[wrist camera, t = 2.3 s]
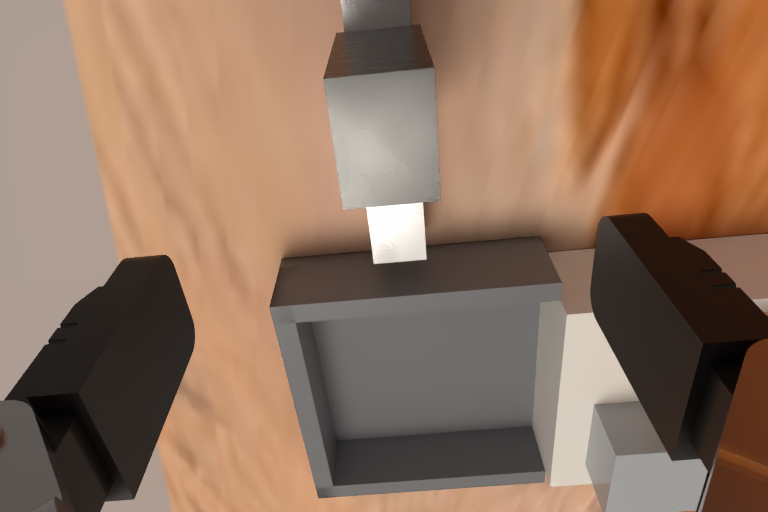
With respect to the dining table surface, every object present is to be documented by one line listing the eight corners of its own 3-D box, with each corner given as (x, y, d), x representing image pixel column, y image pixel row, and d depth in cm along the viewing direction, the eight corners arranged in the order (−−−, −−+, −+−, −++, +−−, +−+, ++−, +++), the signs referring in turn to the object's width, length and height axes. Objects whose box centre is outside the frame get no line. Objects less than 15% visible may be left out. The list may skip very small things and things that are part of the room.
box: (281, 258, 29) (269, 307, 25) (539, 236, 28) (562, 282, 25) (323, 442, 36) (318, 498, 33) (528, 427, 36) (544, 482, 32)
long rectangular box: (538, 253, 29) (566, 314, 25) (863, 225, 28) (949, 283, 24) (529, 415, 35) (549, 486, 31) (793, 396, 35) (851, 465, 30)
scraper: (317, -167, 20) (280, -205, 12) (403, -177, 20) (420, -222, 12) (367, 231, 28) (365, 355, 21) (428, 226, 28) (447, 348, 21)
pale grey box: (594, 404, 28) (616, 456, 25) (688, 397, 27) (720, 448, 25) (585, 463, 30) (604, 516, 27) (671, 457, 30) (699, 510, 27)
